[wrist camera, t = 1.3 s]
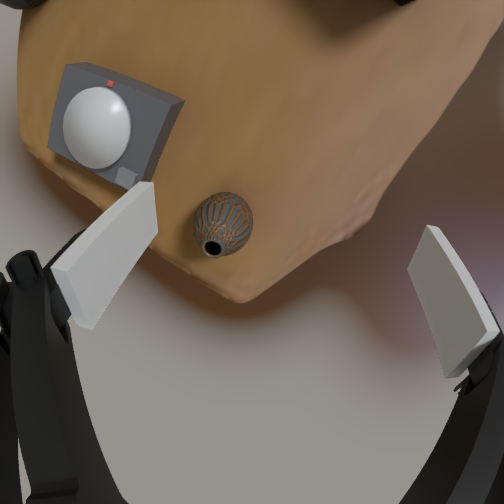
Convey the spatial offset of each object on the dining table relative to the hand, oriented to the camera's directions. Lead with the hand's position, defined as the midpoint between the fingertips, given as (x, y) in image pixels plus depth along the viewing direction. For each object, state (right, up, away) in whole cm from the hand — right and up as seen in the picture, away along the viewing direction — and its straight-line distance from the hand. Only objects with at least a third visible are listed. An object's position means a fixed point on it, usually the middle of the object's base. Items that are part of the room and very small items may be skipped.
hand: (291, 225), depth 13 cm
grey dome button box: (-19, +16, +17) cm, 30 cm away
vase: (-5, +4, +23) cm, 24 cm away
